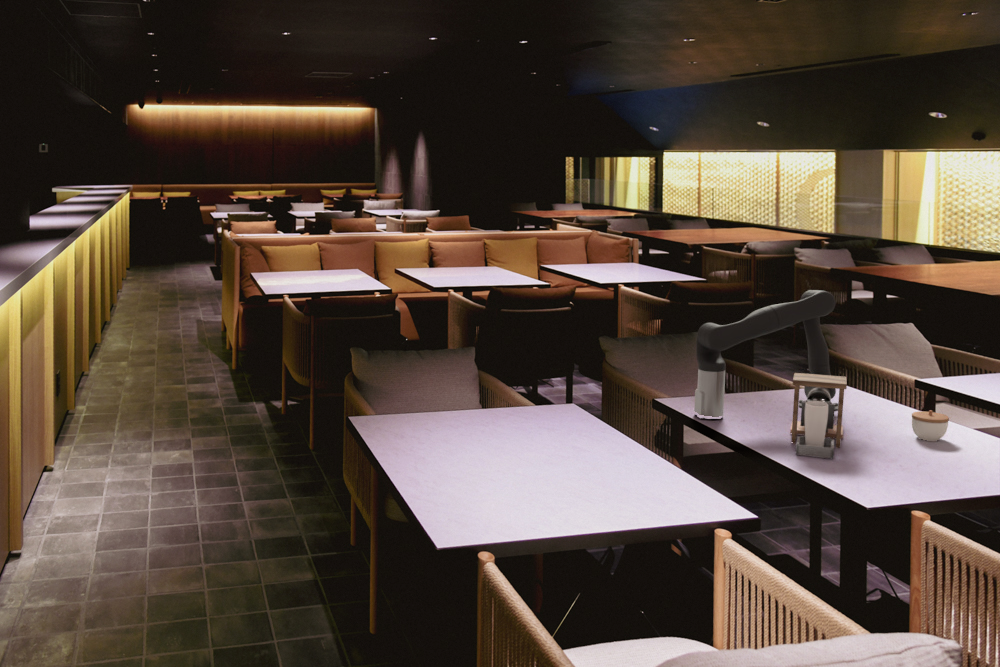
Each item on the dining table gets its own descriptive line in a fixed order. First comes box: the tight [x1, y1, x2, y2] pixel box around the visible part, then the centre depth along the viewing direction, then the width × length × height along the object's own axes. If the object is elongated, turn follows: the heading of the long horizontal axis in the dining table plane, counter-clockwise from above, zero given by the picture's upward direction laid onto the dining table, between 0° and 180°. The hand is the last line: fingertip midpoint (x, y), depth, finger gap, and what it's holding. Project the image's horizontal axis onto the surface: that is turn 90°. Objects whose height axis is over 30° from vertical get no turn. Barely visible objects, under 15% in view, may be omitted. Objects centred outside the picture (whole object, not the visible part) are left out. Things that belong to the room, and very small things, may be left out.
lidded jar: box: [911, 409, 950, 442], centre depth 277 cm, size 11×11×9 cm
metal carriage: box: [795, 400, 835, 459], centre depth 268 cm, size 26×11×11 cm, turn 159°
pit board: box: [789, 420, 844, 440], centre depth 285 cm, size 12×16×2 cm
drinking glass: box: [804, 401, 828, 447], centre depth 262 cm, size 7×7×15 cm
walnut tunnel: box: [790, 372, 848, 449], centre depth 272 cm, size 12×16×21 cm
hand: (817, 411), depth 280 cm, fingers closed
